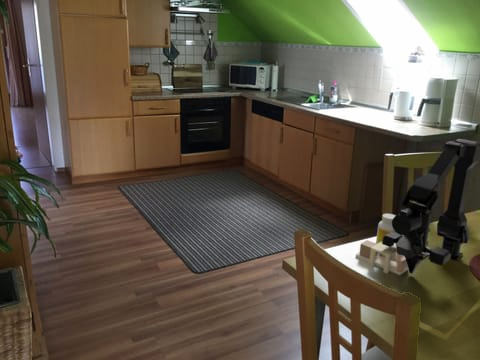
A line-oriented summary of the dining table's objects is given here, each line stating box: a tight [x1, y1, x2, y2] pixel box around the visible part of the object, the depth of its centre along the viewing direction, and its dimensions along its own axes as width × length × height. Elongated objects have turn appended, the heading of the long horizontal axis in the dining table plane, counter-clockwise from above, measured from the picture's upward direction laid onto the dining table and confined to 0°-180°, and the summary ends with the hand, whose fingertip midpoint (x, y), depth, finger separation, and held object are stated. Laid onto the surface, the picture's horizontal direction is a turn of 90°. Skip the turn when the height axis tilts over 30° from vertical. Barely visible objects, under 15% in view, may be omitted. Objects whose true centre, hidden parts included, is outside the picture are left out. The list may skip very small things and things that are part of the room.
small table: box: [368, 242, 403, 274], centre depth 136 cm, size 9×30×7 cm, turn 43°
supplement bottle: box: [375, 213, 396, 244], centre depth 149 cm, size 7×7×13 cm
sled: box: [355, 239, 409, 276], centre depth 140 cm, size 5×16×5 cm, turn 43°
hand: (411, 272), depth 133 cm, fingers closed
